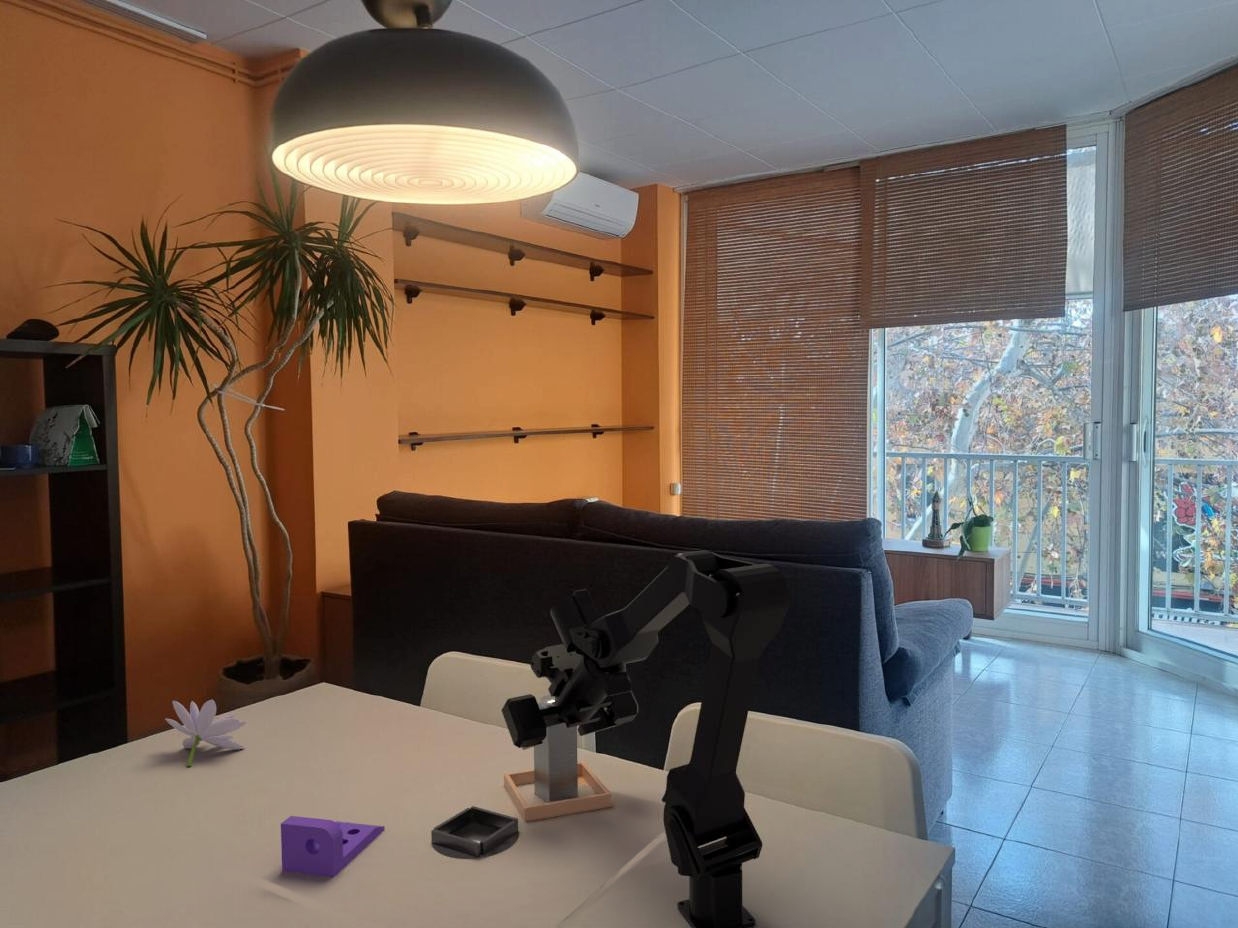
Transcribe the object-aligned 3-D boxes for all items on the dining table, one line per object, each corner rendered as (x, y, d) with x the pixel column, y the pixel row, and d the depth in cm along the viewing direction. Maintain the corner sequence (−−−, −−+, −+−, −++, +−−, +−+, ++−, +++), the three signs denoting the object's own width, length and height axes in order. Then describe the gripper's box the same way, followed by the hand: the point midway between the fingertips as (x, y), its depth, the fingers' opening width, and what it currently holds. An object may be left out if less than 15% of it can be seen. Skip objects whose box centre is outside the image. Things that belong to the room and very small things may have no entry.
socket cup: (536, 834, 114) (535, 816, 113) (481, 873, 104) (481, 853, 104) (470, 816, 119) (470, 798, 119) (412, 850, 110) (412, 832, 110)
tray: (611, 811, 120) (611, 793, 120) (524, 826, 116) (524, 808, 116) (584, 777, 131) (583, 761, 131) (504, 790, 127) (503, 773, 127)
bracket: (334, 886, 102) (332, 829, 102) (282, 879, 104) (280, 823, 104) (384, 837, 114) (383, 786, 114) (337, 832, 116) (335, 781, 115)
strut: (577, 798, 123) (576, 700, 122) (549, 806, 121) (547, 706, 120) (562, 787, 127) (561, 691, 126) (534, 794, 124) (532, 697, 124)
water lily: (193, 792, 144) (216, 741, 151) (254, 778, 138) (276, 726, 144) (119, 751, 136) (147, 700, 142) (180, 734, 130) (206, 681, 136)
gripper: (626, 620, 124) (586, 678, 134) (506, 640, 114) (473, 701, 123) (659, 689, 118) (615, 745, 127) (535, 716, 107) (498, 774, 117)
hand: (551, 739), depth 124 cm, fingers open, 9 cm apart
